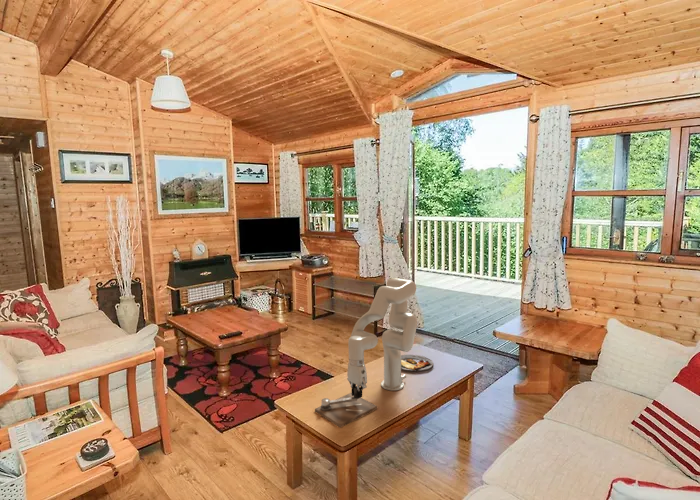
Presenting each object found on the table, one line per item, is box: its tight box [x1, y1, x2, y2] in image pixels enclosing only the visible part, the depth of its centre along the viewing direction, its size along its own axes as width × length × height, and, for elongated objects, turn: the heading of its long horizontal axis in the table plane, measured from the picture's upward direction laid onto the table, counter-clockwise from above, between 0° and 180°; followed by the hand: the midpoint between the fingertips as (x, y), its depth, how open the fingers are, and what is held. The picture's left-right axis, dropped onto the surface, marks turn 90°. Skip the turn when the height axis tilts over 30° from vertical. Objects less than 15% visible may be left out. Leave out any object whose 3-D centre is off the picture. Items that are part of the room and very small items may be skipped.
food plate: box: [401, 354, 434, 372], centre depth 252 cm, size 25×23×4 cm
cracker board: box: [314, 392, 378, 429], centre depth 199 cm, size 24×19×2 cm
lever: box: [321, 385, 359, 408], centre depth 200 cm, size 20×4×7 cm, turn 107°
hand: (356, 395), depth 202 cm, fingers closed on lever, 3 cm apart
